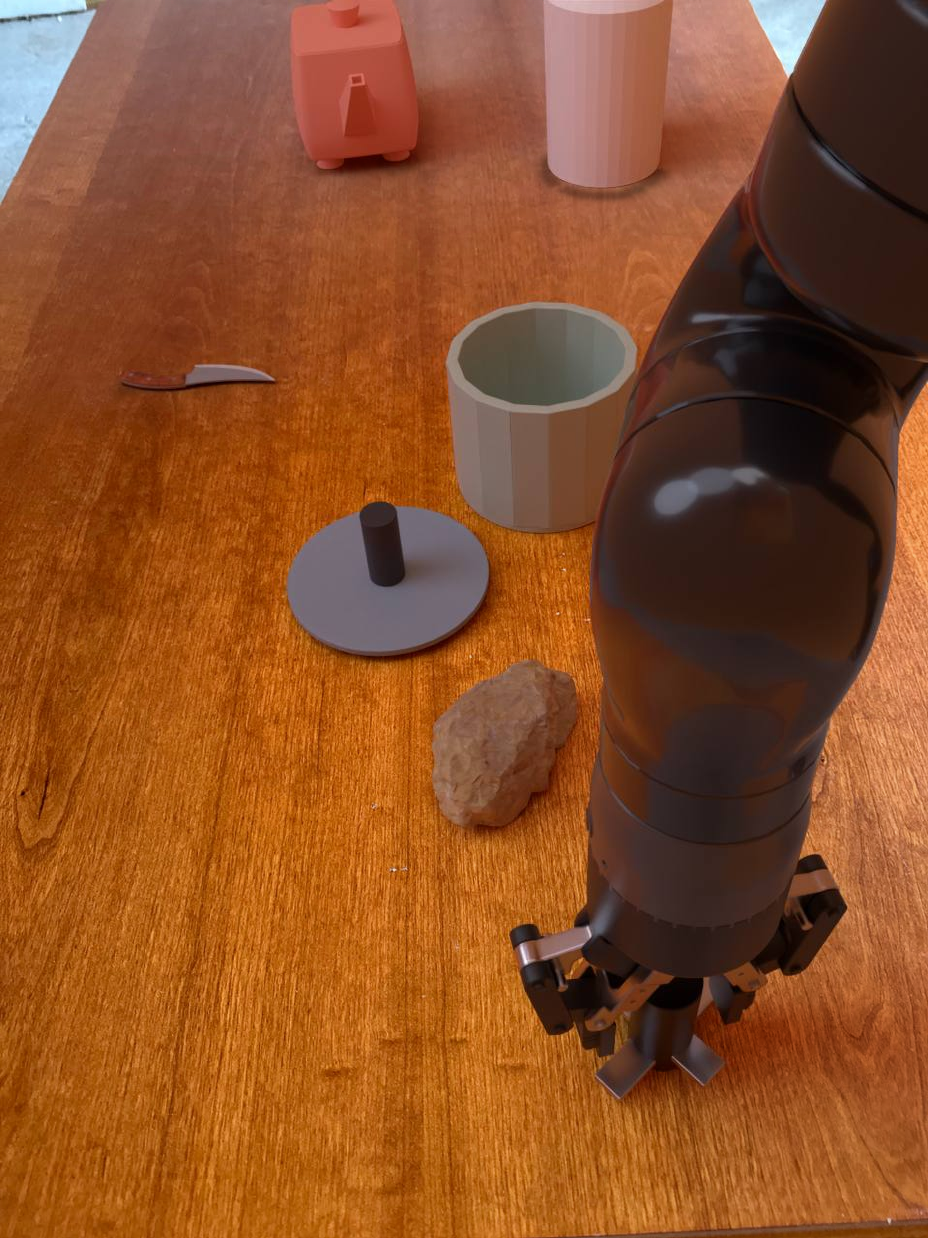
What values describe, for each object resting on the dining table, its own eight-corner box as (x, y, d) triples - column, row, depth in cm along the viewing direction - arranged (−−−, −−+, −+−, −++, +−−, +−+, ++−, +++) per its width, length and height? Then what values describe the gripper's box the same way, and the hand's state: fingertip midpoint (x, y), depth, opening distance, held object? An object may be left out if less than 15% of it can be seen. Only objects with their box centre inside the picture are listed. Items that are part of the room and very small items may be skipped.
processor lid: (464, 501, 82) (458, 428, 78) (512, 637, 73) (508, 564, 69) (278, 539, 81) (260, 467, 76) (303, 682, 72) (285, 611, 67)
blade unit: (659, 946, 59) (669, 877, 53) (761, 1033, 55) (782, 969, 50) (556, 1048, 55) (556, 986, 50) (658, 1148, 52) (669, 1092, 47)
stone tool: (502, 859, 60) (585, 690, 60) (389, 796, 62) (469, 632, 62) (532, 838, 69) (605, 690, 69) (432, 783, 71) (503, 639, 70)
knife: (278, 358, 95) (274, 379, 93) (280, 364, 95) (275, 385, 93) (121, 364, 95) (113, 385, 93) (123, 370, 96) (115, 391, 94)
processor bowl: (599, 407, 89) (603, 288, 81) (653, 512, 80) (663, 390, 73) (441, 438, 87) (430, 320, 80) (480, 548, 79) (471, 428, 71)
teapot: (431, 187, 114) (418, 39, 104) (305, 202, 114) (280, 55, 103) (411, 95, 129) (398, -43, 119) (299, 108, 129) (276, -29, 118)
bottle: (656, 130, 120) (674, -148, 101) (668, 185, 112) (689, -106, 93) (543, 136, 120) (540, -140, 102) (546, 191, 112) (544, -97, 94)
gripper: (527, 971, 38) (535, 1141, 50) (930, 870, 39) (840, 1060, 52) (475, 787, 43) (494, 983, 55) (834, 704, 44) (773, 914, 57)
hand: (662, 1020), depth 53 cm, fingers open, 5 cm apart
